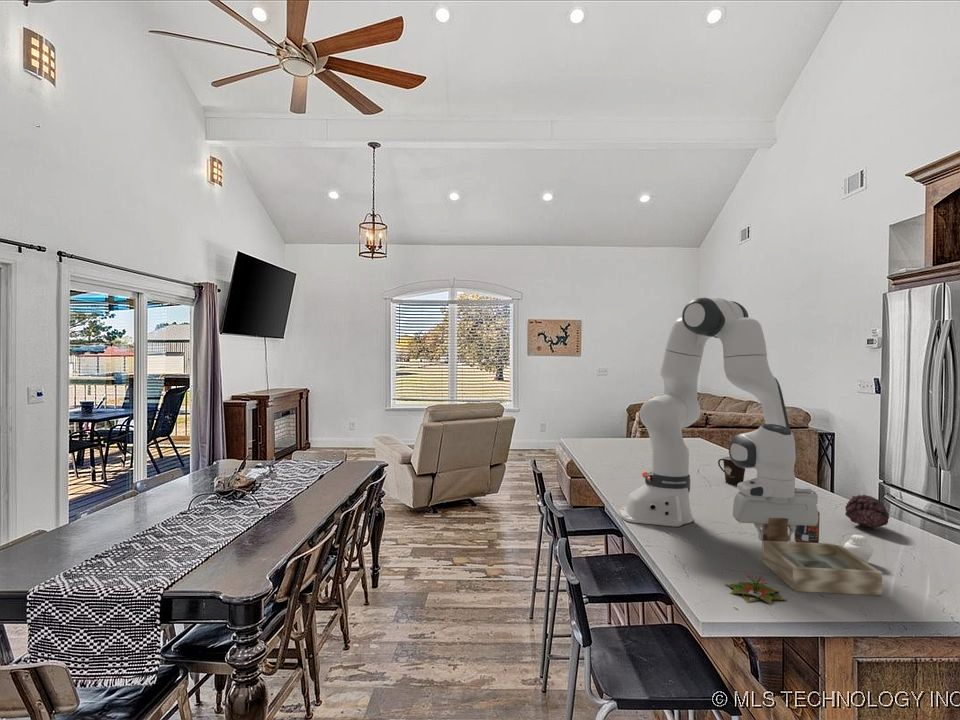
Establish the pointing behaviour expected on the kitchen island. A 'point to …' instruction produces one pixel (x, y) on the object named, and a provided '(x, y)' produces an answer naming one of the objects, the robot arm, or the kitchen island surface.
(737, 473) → the coffee mug
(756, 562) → the kitchen island surface
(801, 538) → the supplement bottle
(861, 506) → the pine cone
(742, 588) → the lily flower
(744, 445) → the robot arm
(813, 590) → the peg box
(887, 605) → the kitchen island surface
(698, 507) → the kitchen island surface
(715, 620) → the kitchen island surface
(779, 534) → the peg
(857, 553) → the white ribbed rounded lump
